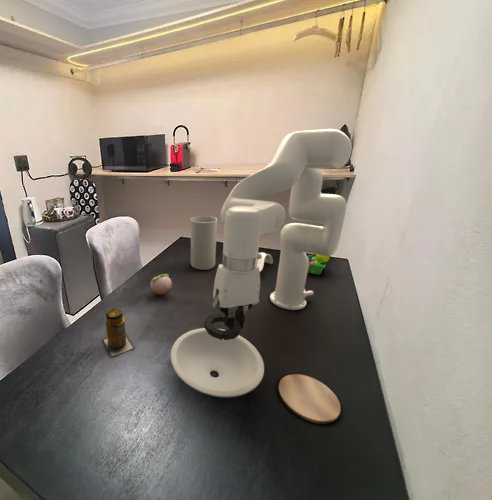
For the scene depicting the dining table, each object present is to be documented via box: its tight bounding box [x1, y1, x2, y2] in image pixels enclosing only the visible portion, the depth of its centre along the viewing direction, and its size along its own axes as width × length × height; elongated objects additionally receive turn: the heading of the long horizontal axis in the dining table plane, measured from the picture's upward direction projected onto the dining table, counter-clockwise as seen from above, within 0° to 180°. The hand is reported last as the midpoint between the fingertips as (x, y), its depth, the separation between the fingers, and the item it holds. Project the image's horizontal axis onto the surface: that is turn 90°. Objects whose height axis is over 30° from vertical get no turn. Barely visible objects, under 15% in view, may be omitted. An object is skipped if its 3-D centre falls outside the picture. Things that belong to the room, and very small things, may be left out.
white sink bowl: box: [170, 327, 265, 398], centre depth 72 cm, size 24×24×7 cm
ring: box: [203, 312, 242, 340], centre depth 66 cm, size 8×8×2 cm
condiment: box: [103, 308, 134, 357], centre depth 84 cm, size 7×8×12 cm
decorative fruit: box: [150, 273, 173, 295], centre depth 112 cm, size 9×8×10 cm
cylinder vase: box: [190, 215, 218, 271], centre depth 134 cm, size 12×12×25 cm
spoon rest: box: [257, 252, 274, 274], centre depth 128 cm, size 24×12×7 cm, turn 127°
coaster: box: [277, 373, 342, 425], centre depth 65 cm, size 13×13×1 cm
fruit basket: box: [307, 254, 331, 276], centre depth 123 cm, size 11×9×11 cm
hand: (233, 325), depth 67 cm, fingers closed on ring, 2 cm apart
